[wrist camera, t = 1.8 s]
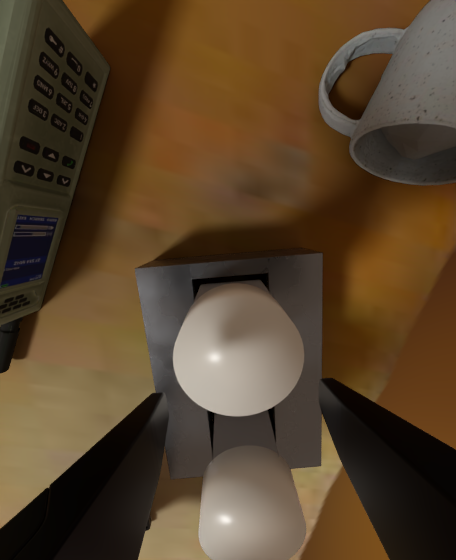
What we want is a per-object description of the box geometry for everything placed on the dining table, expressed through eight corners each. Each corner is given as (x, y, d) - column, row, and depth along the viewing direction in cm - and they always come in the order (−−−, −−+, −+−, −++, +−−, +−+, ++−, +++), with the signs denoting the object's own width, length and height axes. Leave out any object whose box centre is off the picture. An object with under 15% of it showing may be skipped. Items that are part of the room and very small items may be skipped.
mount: (304, 424, 22) (321, 466, 19) (179, 435, 22) (170, 479, 19) (301, 247, 19) (322, 252, 15) (153, 260, 19) (134, 268, 15)
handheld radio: (120, 69, 16) (31, 368, 21) (75, 48, 16) (-5, 354, 21) (45, -42, 10) (-60, 430, 14) (-35, -82, 9) (-115, 411, 14)
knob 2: (279, 456, 19) (306, 566, 13) (210, 462, 19) (204, 575, 13) (276, 396, 18) (305, 486, 12) (203, 403, 18) (192, 496, 12)
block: (470, 84, 17) (658, -29, 9) (414, 193, 18) (538, 169, 11) (340, 23, 16) (436, -152, 9) (293, 143, 17) (341, 80, 10)
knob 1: (274, 343, 17) (305, 410, 11) (196, 350, 17) (181, 421, 11) (271, 266, 16) (303, 291, 9) (187, 273, 15) (164, 303, 9)
